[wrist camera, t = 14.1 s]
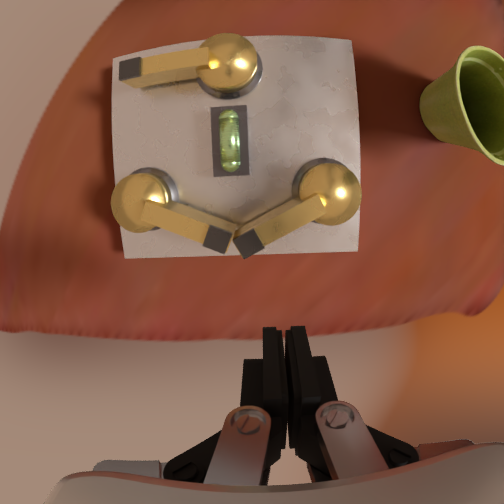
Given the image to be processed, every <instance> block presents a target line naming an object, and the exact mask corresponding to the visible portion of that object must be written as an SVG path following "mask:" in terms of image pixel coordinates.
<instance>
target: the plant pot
mask: <svg viewBox="0 0 504 504" xmlns="http://www.w3.org/2000/svg"><path fill="white" fill-rule="evenodd" d="M419 106H420V113H421V117H422V120H423V122H424V124H425V126H426V127H427V128H428V130H429V131H430V132H431V133H432V134H433V135H434V136H435V137H436V138H437V139H438V140H440V141H442V142H446V143H450V144H455V145H459V146H463V147H467V148H470V149H474V150H477V151H479V152H481V153H482V154H484V155H485V156H486V157H487V158H489V159H490V160H491V161H493V162H495V163H497V164H499V165H503V166H504V59H503V58H502V57H501V56H500V55H499V54H498V53H496V52H495V51H493V50H491V49H489V48H486V47H483V46H472V47H469V48H467V49H465V50H464V51H463V52H462V53H461V54H460V56H459V57H458V60H457V62H456V63H455V65H454V66H453V68H451V69H450V70H449V71H447V72H446V73H445V74H443V75H442V76H440V77H439V78H438V79H436V80H435V81H433V82H432V83H431V84H429V85H428V86H427V87H426V88H425V89H424V91H423V93H422V94H421V97H420V105H419Z"/></svg>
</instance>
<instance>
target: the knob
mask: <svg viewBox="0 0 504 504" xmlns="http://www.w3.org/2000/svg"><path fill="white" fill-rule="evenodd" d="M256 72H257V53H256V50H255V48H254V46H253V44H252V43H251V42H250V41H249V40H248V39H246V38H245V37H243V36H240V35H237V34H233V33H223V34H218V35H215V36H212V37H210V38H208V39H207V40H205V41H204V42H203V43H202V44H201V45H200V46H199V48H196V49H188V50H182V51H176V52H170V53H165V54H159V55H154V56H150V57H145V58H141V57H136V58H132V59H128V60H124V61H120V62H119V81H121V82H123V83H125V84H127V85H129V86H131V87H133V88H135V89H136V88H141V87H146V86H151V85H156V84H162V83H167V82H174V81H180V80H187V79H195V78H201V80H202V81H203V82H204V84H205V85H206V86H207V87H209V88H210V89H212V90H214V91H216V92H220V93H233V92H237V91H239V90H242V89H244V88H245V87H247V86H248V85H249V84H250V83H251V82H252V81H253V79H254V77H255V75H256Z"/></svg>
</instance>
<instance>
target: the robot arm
mask: <svg viewBox="0 0 504 504" xmlns="http://www.w3.org/2000/svg"><path fill="white" fill-rule="evenodd" d="M287 423H288V435H289V447H290V449H292V448H295V455H296V456H298V457H299V458H301V459H302V460H304V461H306V462H307V469H308V472H309V475H310V479H311V482H312V483H306V484H293V485H273V486H267V485H268V480H269V474H270V466H271V465H273V464H274V463H275V462H276V461H278V460H279V459H280V456H281V449H285V445H286V433H287ZM44 504H504V443H502V442H487V443H478V444H474V443H473V442H472V441H470V440H467V439H459V440H453V441H445V442H438V443H427V444H419V445H418V447H413V446H411V445H410V444H408V443H405V442H403V441H401V440H398V439H396V438H394V437H391V436H389V435H387V434H385V433H382V432H380V431H378V430H376V429H374V428H372V427H369V426H367V425H365V423H364V421H363V419H362V418H361V416H360V414H359V412H358V411H357V409H356V408H355V407H354V406H353V405H351V404H349V403H347V402H344V401H338V399H337V395H336V392H335V388H334V384H333V381H332V377H331V374H330V371H329V367H328V363H327V360H326V357H325V356H314V357H312V355H311V351H310V346H309V342H308V338H307V334H306V329H305V326H291V329H290V330H286V333H285V356H284V347H283V338H282V330H276V327H263V359H244V364H243V376H242V389H241V402H240V407H238V408H236V409H234V410H232V411H231V412H230V413H229V414H228V415H227V417H226V419H225V422H224V425H223V428H222V430H221V431H219V432H218V433H216V434H214V435H213V436H211V437H209V438H208V439H206V440H204V441H203V442H201V443H200V444H198V445H196V446H194V447H193V448H191V449H189V450H187V451H186V452H184V453H182V454H180V455H178V456H176V457H175V458H173V459H172V460H170V461H169V462H168V463H160V462H159V460H158V461H157V460H155V461H126V460H125V461H123V460H104V461H101V462H99V463H97V465H95V466H94V468H93V471H86V472H79V473H74V474H70V475H68V476H65V477H64V478H62V479H61V480H60V481H59V482H58V483H57V484H56V485H55V486H54V488H53V489H52V491H51V492H50V494H49V495H48V497H47V499H46V500H45V502H44Z"/></svg>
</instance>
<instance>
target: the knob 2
mask: <svg viewBox="0 0 504 504" xmlns="http://www.w3.org/2000/svg"><path fill="white" fill-rule="evenodd" d="M361 197H362V192H361V186H360V183H359V181H358V179H357V177H356V176H355V174H354V173H353V172H352V171H351V170H349V169H348V168H346V167H345V166H342V165H339V164H334V163H321V164H317V165H314V166H312V167H310V168H309V169H308V170H307V171H306V172H305V173H304V174H303V175H302V177H301V179H300V181H299V184H298V197H296V198H294V199H292V200H290V201H288V202H286V203H285V204H283V205H281V206H279V207H277V208H275V209H273V210H272V211H270V212H268V213H266V214H264V215H262V216H261V217H259V218H257V219H255V220H253V221H251V222H250V223H248V224H246V225H244V226H242V227H241V228H239V229H237V230H235V233H234V236H233V239H232V242H233V243H234V245H235V247H236V248H237V250H238V251H239V253H240V255H241V256H242V258H243V259H246V258H248V257H249V256H251V255H253V254H255V253H257V252H259V251H261V250H263V249H265V246H266V245H268V244H270V243H272V242H274V241H275V240H277V239H279V238H281V237H283V236H285V235H287V234H289V233H290V232H292V231H294V230H296V229H298V228H300V227H302V226H304V225H305V224H307V223H309V222H311V221H313V220H315V221H316V222H318V223H320V224H323V225H328V226H335V225H340V224H342V223H345V222H346V221H348V220H349V219H351V218H352V217H353V216H354V215H355V213H356V212H357V210H358V208H359V206H360V203H361Z"/></svg>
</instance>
